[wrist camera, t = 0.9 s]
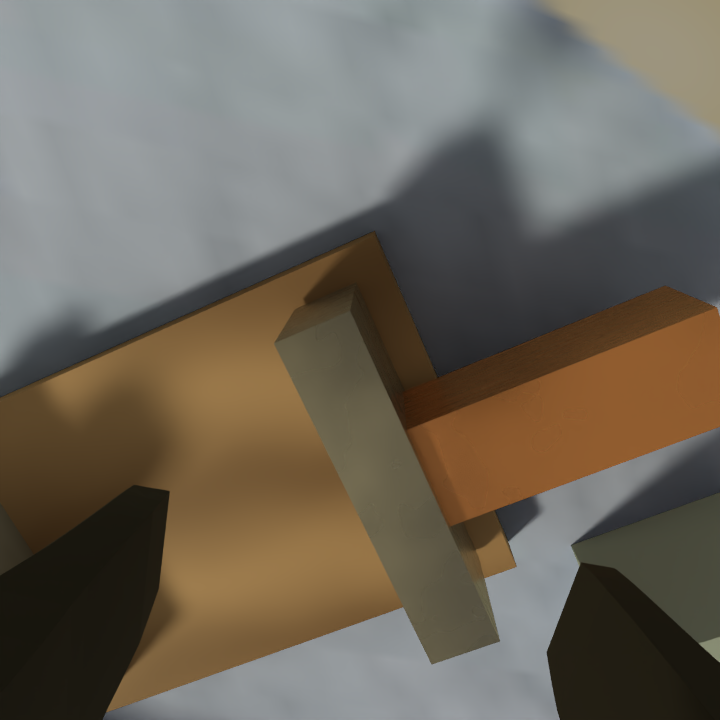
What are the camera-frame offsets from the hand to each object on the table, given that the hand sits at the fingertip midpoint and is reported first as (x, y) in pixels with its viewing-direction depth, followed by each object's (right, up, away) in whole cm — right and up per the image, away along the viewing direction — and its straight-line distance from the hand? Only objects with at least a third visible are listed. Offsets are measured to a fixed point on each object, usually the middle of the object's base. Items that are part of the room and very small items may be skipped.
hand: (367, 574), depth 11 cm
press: (-6, -1, +12) cm, 13 cm away
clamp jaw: (+4, +3, +9) cm, 10 cm away
